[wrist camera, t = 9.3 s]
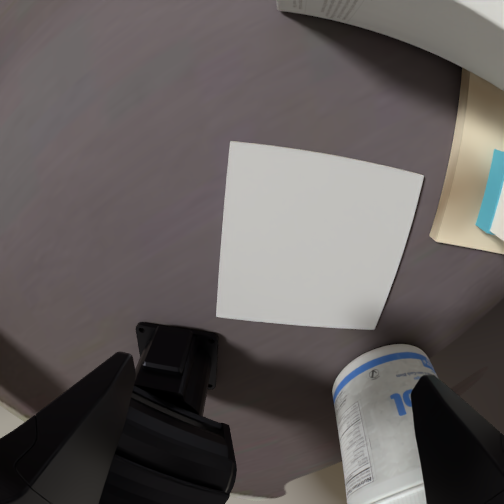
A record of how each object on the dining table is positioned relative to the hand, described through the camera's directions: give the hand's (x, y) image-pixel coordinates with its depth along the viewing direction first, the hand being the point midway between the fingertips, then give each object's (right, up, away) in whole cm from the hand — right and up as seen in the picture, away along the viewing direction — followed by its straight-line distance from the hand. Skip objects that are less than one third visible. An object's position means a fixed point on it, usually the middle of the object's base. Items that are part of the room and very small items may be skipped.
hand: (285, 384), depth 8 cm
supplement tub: (+11, -8, +17) cm, 21 cm away
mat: (+3, +4, +11) cm, 12 cm away
